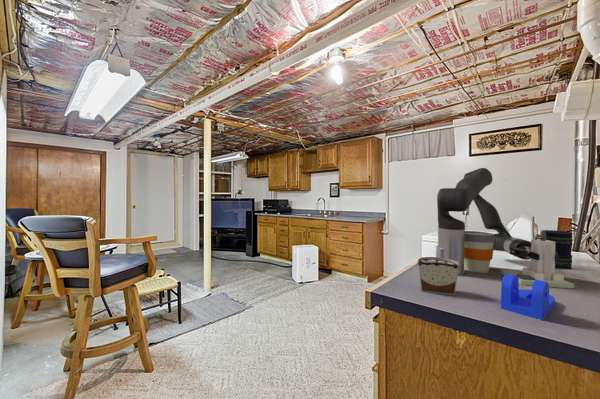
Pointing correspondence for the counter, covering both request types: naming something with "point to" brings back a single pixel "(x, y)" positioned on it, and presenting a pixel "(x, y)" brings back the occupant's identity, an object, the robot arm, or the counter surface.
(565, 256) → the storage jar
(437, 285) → the food container
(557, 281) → the board
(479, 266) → the reusable coffee cup
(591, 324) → the counter surface
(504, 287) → the bracket
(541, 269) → the plug
